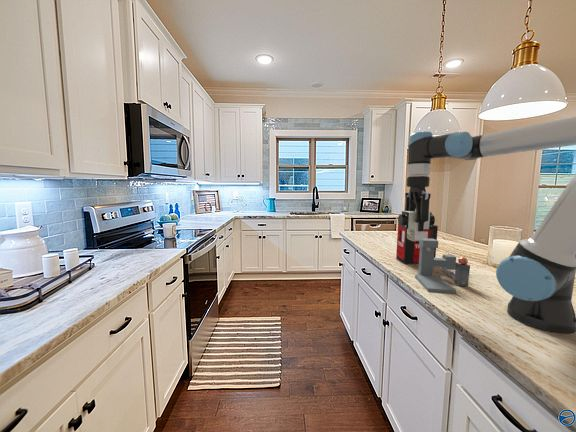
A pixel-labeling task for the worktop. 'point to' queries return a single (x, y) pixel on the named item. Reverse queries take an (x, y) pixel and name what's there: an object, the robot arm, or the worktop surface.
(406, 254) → the cleaning product box
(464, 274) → the lever
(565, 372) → the worktop surface
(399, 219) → the pneumatic valve
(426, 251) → the press
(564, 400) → the worktop surface
